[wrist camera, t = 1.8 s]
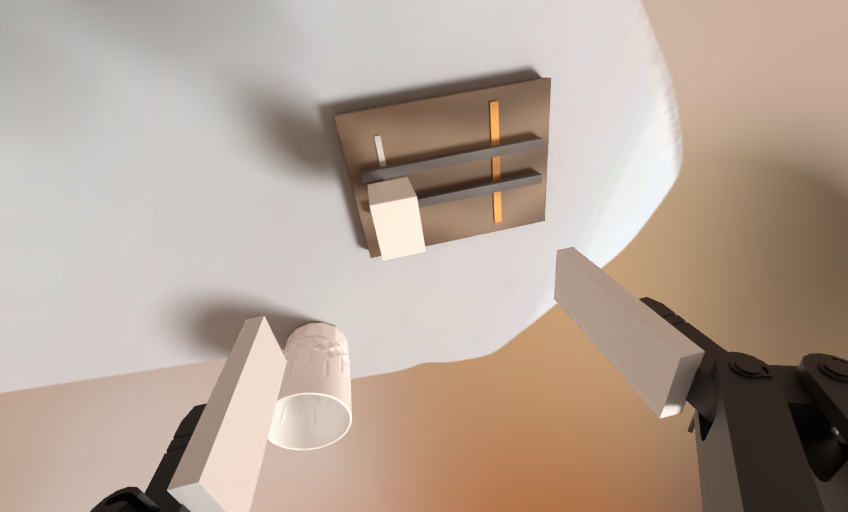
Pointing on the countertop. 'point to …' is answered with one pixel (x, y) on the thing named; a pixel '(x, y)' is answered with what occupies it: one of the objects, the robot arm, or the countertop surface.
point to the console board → (455, 158)
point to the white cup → (313, 390)
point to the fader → (396, 218)
